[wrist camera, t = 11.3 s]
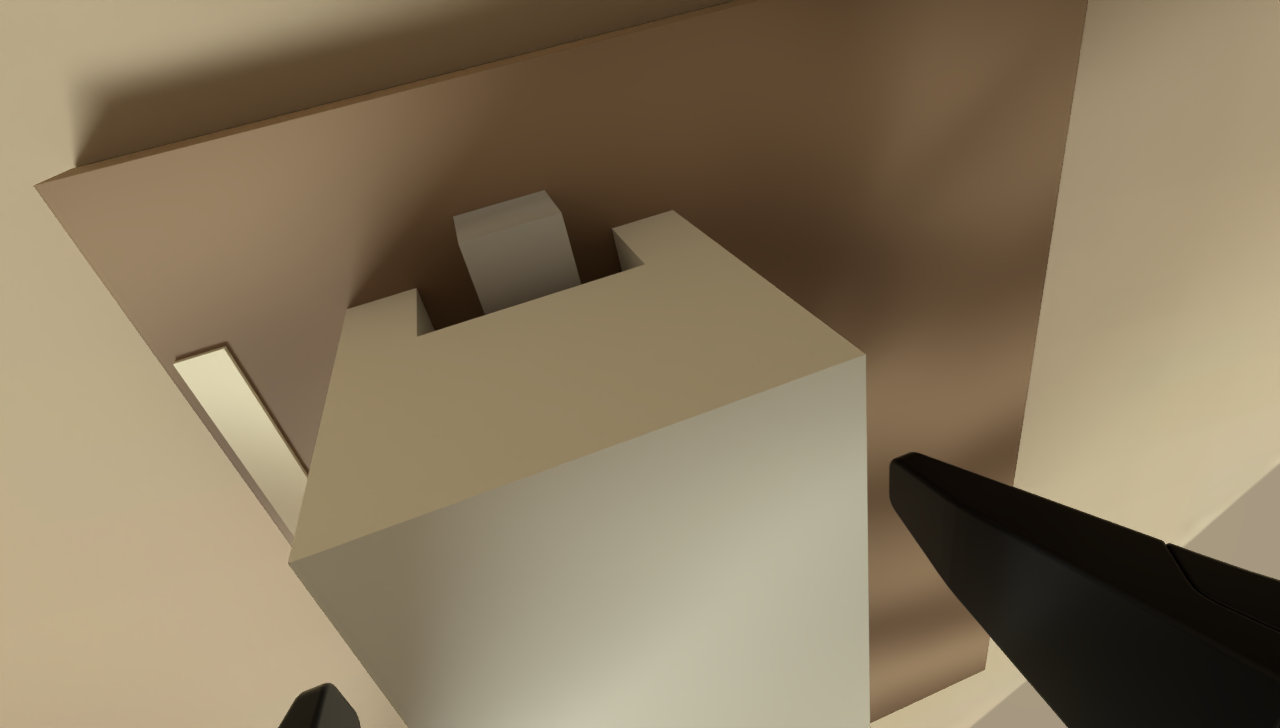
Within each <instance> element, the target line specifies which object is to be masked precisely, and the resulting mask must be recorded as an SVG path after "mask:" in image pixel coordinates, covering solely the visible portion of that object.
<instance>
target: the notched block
mask: <svg viewBox="0 0 1280 728" xmlns="http://www.w3.org/2000/svg"><path fill="white" fill-rule="evenodd" d="M612 231H613V236H614V240H615V244H616V248H617V253H618V257H619V261H620V266H621V270H622V272H620V273H616V274H613V275H610V276H607V277H604V278H601V279H598V280H594V281H591V282H588V283H585V284H582V285H579V286H575V287H572V288H569V289H566V290H563V291H560V292H556V293H553V294H550V295H547V296H544V297H541V298H538V299H534V300H531V301H528V302H525V303H522V304H519V305H515V306H512V307H509V308H506V309H503V310H500V311H497V312H493V313H490V314H487V315H484V316H481V317H478V318H474V319H471V320H468V321H465V322H462V323H459V324H456V325H452V326H449V327H446V328H443V329H440V330H437V331H435V330H434V328H433V326H432V323H431V321H430V319H429V316H428V314H427V311H426V309H425V307H424V304H423V302H422V300H421V297H420V295H419V293H418V290H417V288H415V289H412V290H408V291H405V292H402V293H398V294H395V295H392V296H389V297H385V298H382V299H379V300H375V301H372V302H369V303H366V304H362V305H359V306H356V307H352V308H349V309H347V311H346V315H345V319H344V323H343V328H342V332H341V336H340V341H339V345H338V349H337V354H336V358H335V362H334V367H333V371H332V375H331V380H330V384H329V388H328V393H327V397H326V401H325V406H324V410H323V414H322V419H321V423H320V427H319V432H318V436H317V440H316V444H315V449H314V453H313V457H312V462H311V466H310V470H309V475H308V479H307V483H306V488H305V492H304V496H303V501H302V505H301V509H300V514H299V518H298V522H297V527H296V531H295V535H294V540H293V544H292V548H291V553H290V557H289V561H288V564H289V566H290V567H291V568H292V570H293V571H294V572H295V574H296V575H297V577H298V578H299V579H300V581H301V582H302V583H303V585H304V586H305V587H306V589H307V590H308V591H309V593H310V594H311V596H312V597H313V598H314V600H315V601H316V602H317V604H318V605H319V606H320V608H321V609H322V611H323V612H324V613H325V615H326V616H327V617H328V619H329V620H330V621H331V623H332V624H333V626H334V627H335V628H336V630H337V631H338V632H339V634H340V635H341V636H342V638H343V639H344V641H345V642H346V643H347V645H348V646H349V647H350V649H351V650H352V651H353V653H354V654H355V656H356V657H357V658H358V660H359V661H360V662H361V664H362V665H363V666H364V668H365V669H366V670H367V672H368V673H369V675H370V676H371V677H372V679H373V680H374V681H375V683H376V684H377V685H378V687H379V688H380V690H381V691H382V692H383V694H384V695H385V696H386V698H387V699H388V700H389V702H390V703H391V705H392V706H393V707H394V709H395V710H396V711H397V713H398V714H399V715H400V717H401V718H402V720H403V721H404V722H405V724H406V725H407V726H408V728H870V682H869V593H868V504H867V415H866V354H865V353H863V352H862V351H861V350H859V349H858V348H857V347H855V346H854V345H853V344H851V343H850V342H849V341H847V340H846V339H845V338H843V337H842V336H841V335H839V334H838V333H837V332H835V331H834V330H833V329H831V328H830V327H829V326H827V325H826V324H825V323H823V322H822V321H821V320H819V319H818V318H817V317H815V316H814V315H813V314H811V313H810V312H809V311H807V310H806V309H805V308H803V307H802V306H801V305H799V304H798V303H797V302H795V301H794V300H793V299H791V298H790V297H789V296H787V295H786V294H785V293H783V292H782V291H781V290H779V289H778V288H776V287H775V286H774V285H772V284H771V283H770V282H768V281H767V280H766V279H764V278H763V277H762V276H760V275H759V274H758V273H756V272H755V271H754V270H752V269H751V268H750V267H748V266H747V265H746V264H744V263H743V262H742V261H740V260H739V259H738V258H736V257H735V256H734V255H732V254H731V253H730V252H728V251H727V250H726V249H724V248H723V247H722V246H720V245H719V244H718V243H716V242H715V241H714V240H712V239H711V238H710V237H708V236H707V235H706V234H704V233H703V232H702V231H700V230H699V229H698V228H696V227H695V226H694V225H692V224H691V223H690V222H688V221H687V220H686V219H684V218H683V217H682V216H680V215H679V214H678V213H676V212H675V211H674V210H671V211H668V212H664V213H661V214H658V215H654V216H651V217H648V218H645V219H641V220H638V221H635V222H631V223H628V224H625V225H622V226H618V227H615V228H612Z"/></svg>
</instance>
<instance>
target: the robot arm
mask: <svg viewBox="0 0 1280 728" xmlns="http://www.w3.org/2000/svg"><path fill="white" fill-rule="evenodd" d="M889 498H890V502H891V505H892V507H893V509H894V510H895V512H896V513H897V515H898V516H899V517H900V519H901V520H902V522H903V523H904V525H905V526H906V528H907V529H908V531H909V532H910V533H911V535H912V536H913V538H914V539H915V541H916V542H917V544H918V545H919V546H920V548H921V549H922V551H923V552H924V554H925V555H926V557H927V558H928V559H929V561H930V562H931V564H932V565H933V567H934V568H935V570H936V571H937V572H938V574H939V575H940V577H941V578H942V579H943V581H944V582H945V583H946V585H947V586H948V588H949V589H950V590H951V591H952V592H953V594H954V595H955V596H956V597H957V599H958V600H959V601H960V602H961V603H962V604H963V606H964V607H965V608H966V609H967V610H968V611H969V613H970V614H971V615H972V616H973V617H974V618H975V620H976V621H977V622H978V623H979V624H980V626H981V627H982V628H983V629H984V630H985V631H986V633H987V634H988V635H989V636H990V637H991V638H992V640H993V641H994V642H995V643H996V644H997V645H998V647H999V648H1000V649H1001V650H1002V651H1003V652H1004V654H1005V655H1006V656H1007V657H1008V658H1009V659H1010V661H1011V662H1012V663H1013V664H1014V665H1015V666H1016V668H1017V669H1018V670H1019V671H1020V672H1021V673H1022V675H1023V676H1024V677H1025V678H1026V679H1027V680H1028V682H1029V683H1030V684H1031V685H1032V686H1033V687H1034V688H1035V690H1036V691H1037V692H1038V693H1039V694H1040V696H1041V697H1042V698H1043V699H1044V700H1045V701H1046V703H1047V704H1048V705H1049V706H1050V707H1051V708H1052V710H1053V711H1054V712H1055V713H1056V714H1057V716H1058V717H1059V718H1060V719H1061V720H1062V721H1063V723H1065V725H1066V726H1067V727H1068V728H1280V580H1277V579H1274V578H1271V577H1268V576H1264V575H1261V574H1258V573H1255V572H1251V571H1248V570H1246V569H1243V568H1240V567H1237V566H1234V565H1231V564H1228V563H1225V562H1222V561H1219V560H1216V559H1213V558H1211V557H1208V556H1204V555H1202V554H1199V553H1196V552H1193V551H1191V550H1188V549H1185V548H1182V547H1180V546H1177V545H1174V544H1171V543H1168V544H1165V543H1164V541H1162V540H1160V539H1157V538H1154V537H1151V536H1149V535H1146V534H1143V533H1140V532H1137V531H1135V530H1132V529H1129V528H1126V527H1124V526H1121V525H1118V524H1115V523H1112V522H1110V521H1107V520H1104V519H1101V518H1099V517H1096V516H1093V515H1090V514H1088V513H1085V512H1082V511H1079V510H1076V509H1074V508H1071V507H1068V506H1065V505H1063V504H1060V503H1057V502H1054V501H1051V500H1049V499H1046V498H1043V497H1040V496H1038V495H1035V494H1032V493H1029V492H1027V491H1024V490H1021V489H1018V488H1015V487H1013V486H1010V485H1007V484H1004V483H1002V482H999V481H996V480H993V479H990V478H988V477H985V476H982V475H979V474H977V473H974V472H971V471H968V470H966V469H963V468H960V467H957V466H954V465H952V464H949V463H946V462H943V461H941V460H938V459H935V458H932V457H929V456H927V455H924V454H921V453H918V452H909V453H907V454H904V455H902V456H899V457H897V458H894V459H893V460H892V461H891V462H890V465H889ZM278 728H361V727H360V722H359V719H358V716H357V714H356V712H355V710H354V709H353V708H352V707H351V705H350V704H349V703H348V702H347V700H346V699H345V698H344V697H343V695H342V694H341V693H340V692H339V690H338V689H337V688H336V687H335V686H334V685H333V684H331V683H324V684H322V685H319V686H317V687H314V688H312V689H309V690H306V691H304V692H302V693H301V694H300V695H299V696H298V697H297V698H296V699H295V701H294V702H293V704H292V706H291V707H290V709H289V711H288V712H287V714H286V716H285V717H284V719H283V721H282V722H281V724H280V726H279V727H278Z"/></svg>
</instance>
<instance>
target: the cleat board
mask: <svg viewBox="0 0 1280 728" xmlns="http://www.w3.org/2000/svg"><path fill="white" fill-rule="evenodd" d="M1087 4H1088V0H735V1H731V2H728V3H724V4H720V5H716V6H712V7H708V8H704V9H700V10H696V11H692V12H688V13H684V14H680V15H676V16H672V17H668V18H664V19H660V20H656V21H653V22H649V23H645V24H641V25H637V26H633V27H629V28H625V29H621V30H617V31H613V32H609V33H605V34H601V35H597V36H593V37H589V38H585V39H581V40H578V41H574V42H570V43H566V44H562V45H558V46H554V47H550V48H546V49H542V50H538V51H534V52H530V53H526V54H522V55H518V56H514V57H510V58H506V59H502V60H499V61H495V62H491V63H487V64H483V65H479V66H475V67H471V68H467V69H463V70H459V71H455V72H451V73H447V74H443V75H439V76H435V77H431V78H427V79H424V80H420V81H416V82H412V83H408V84H404V85H400V86H396V87H392V88H388V89H384V90H380V91H376V92H372V93H368V94H364V95H360V96H356V97H352V98H349V99H345V100H341V101H337V102H333V103H329V104H325V105H321V106H317V107H313V108H309V109H305V110H301V111H297V112H293V113H289V114H285V115H281V116H277V117H274V118H270V119H266V120H262V121H258V122H254V123H250V124H246V125H242V126H238V127H234V128H230V129H226V130H222V131H218V132H214V133H210V134H206V135H202V136H199V137H195V138H191V139H187V140H183V141H179V142H175V143H171V144H167V145H163V146H159V147H155V148H151V149H147V150H143V151H139V152H135V153H131V154H127V155H123V156H120V157H116V158H112V159H108V160H104V161H100V162H96V163H92V164H88V165H84V166H80V167H76V168H72V169H70V170H68V171H66V172H63V173H61V174H59V175H57V176H54V177H52V178H50V179H48V180H45V181H43V182H41V183H39V184H36V185H34V187H35V189H36V190H37V191H38V193H39V194H40V196H41V197H42V198H43V200H44V201H45V203H46V204H47V205H48V207H49V208H50V210H51V211H52V212H53V214H54V215H55V217H56V218H57V219H58V221H59V222H60V224H61V225H62V226H63V228H64V229H65V231H66V232H67V233H68V235H69V236H70V238H71V239H72V240H73V242H74V243H75V245H76V246H77V247H78V249H79V250H80V252H81V253H82V254H83V256H84V257H85V259H86V260H87V261H88V263H89V264H90V266H91V267H92V268H93V270H94V271H95V273H96V274H97V275H98V277H99V278H100V280H101V281H102V282H103V284H104V285H105V287H106V288H107V289H108V291H109V292H110V294H111V295H112V296H113V298H114V299H115V300H116V302H117V303H118V305H119V306H120V307H121V309H122V310H123V312H124V313H125V314H126V316H127V317H128V319H129V320H130V321H131V323H132V324H133V326H134V327H135V328H136V330H137V331H138V333H139V334H140V335H141V337H142V338H143V340H144V341H145V342H146V344H147V345H148V347H149V348H150V349H151V351H152V352H153V354H154V355H155V356H156V358H157V359H158V361H159V362H160V363H161V365H162V366H163V368H164V369H165V370H166V372H167V373H168V375H169V376H170V377H171V379H172V380H173V382H174V383H175V384H176V386H177V387H178V389H179V390H180V391H181V393H182V394H183V396H184V397H185V398H186V400H187V401H188V403H189V404H190V405H191V407H192V408H193V410H194V411H195V412H196V414H197V415H198V417H199V418H200V419H201V421H202V422H203V424H204V425H205V426H206V428H207V429H208V431H209V432H210V433H211V435H212V436H213V438H214V439H215V440H216V442H217V443H218V445H219V446H220V447H221V449H222V450H223V451H224V453H225V454H226V456H227V457H228V458H229V460H230V461H231V463H232V464H233V465H234V467H235V468H236V470H237V471H238V472H239V474H240V475H241V477H242V478H243V479H244V481H245V482H246V484H247V485H248V486H249V488H250V489H251V491H252V492H253V493H254V495H255V496H256V498H257V499H258V500H259V502H260V503H261V505H262V506H263V507H264V509H265V510H266V512H267V513H268V514H269V516H270V517H271V519H272V520H273V521H274V523H275V524H276V526H277V527H278V528H279V530H280V531H281V533H282V534H283V535H284V537H285V538H286V540H287V541H288V542H289V544H290V545H291V547H292V544H293V540H294V535H295V531H296V527H297V522H298V518H299V514H300V509H301V505H302V501H303V496H304V492H305V488H306V483H307V479H308V475H309V470H310V466H311V462H312V457H313V453H314V449H315V444H316V440H317V436H318V432H319V427H320V423H321V419H322V414H323V410H324V406H325V401H326V397H327V393H328V388H329V384H330V380H331V375H332V371H333V367H334V362H335V358H336V354H337V349H338V345H339V341H340V336H341V332H342V328H343V323H344V319H345V315H346V311H347V309H349V308H352V307H356V306H359V305H362V304H366V303H369V302H372V301H375V300H379V299H382V298H385V297H389V296H392V295H395V294H398V293H402V292H405V291H408V290H412V289H415V288H417V290H418V293H419V295H420V297H421V300H422V302H423V304H424V307H425V309H426V311H427V314H428V316H429V319H430V321H431V323H432V326H433V328H434V330H435V331H437V330H440V329H443V328H446V327H449V326H452V325H456V324H459V323H462V322H465V321H468V320H471V319H474V318H478V317H481V316H484V315H487V314H490V313H493V312H497V311H500V310H503V309H506V308H509V307H512V306H515V305H519V304H522V303H525V302H528V301H531V300H534V299H538V298H541V297H544V296H547V295H550V294H553V293H556V292H560V291H563V290H566V289H569V288H572V287H575V286H579V285H582V284H585V283H588V282H591V281H594V280H598V279H601V278H604V277H607V276H610V275H613V274H616V273H620V272H622V270H621V266H620V261H619V257H618V253H617V248H616V244H615V240H614V236H613V231H612V228H615V227H618V226H622V225H625V224H628V223H631V222H635V221H638V220H641V219H645V218H648V217H651V216H654V215H658V214H661V213H664V212H668V211H671V210H674V211H675V212H676V213H678V214H679V215H680V216H682V217H683V218H684V219H686V220H687V221H688V222H690V223H691V224H692V225H694V226H695V227H696V228H698V229H699V230H700V231H702V232H703V233H704V234H706V235H707V236H708V237H710V238H711V239H712V240H714V241H715V242H716V243H718V244H719V245H720V246H722V247H723V248H724V249H726V250H727V251H728V252H730V253H731V254H732V255H734V256H735V257H736V258H738V259H739V260H740V261H742V262H743V263H744V264H746V265H747V266H748V267H750V268H751V269H752V270H754V271H755V272H756V273H758V274H759V275H760V276H762V277H763V278H764V279H766V280H767V281H768V282H770V283H771V284H772V285H774V286H775V287H776V288H778V289H779V290H781V291H782V292H783V293H785V294H786V295H787V296H789V297H790V298H791V299H793V300H794V301H795V302H797V303H798V304H799V305H801V306H802V307H803V308H805V309H806V310H807V311H809V312H810V313H811V314H813V315H814V316H815V317H817V318H818V319H819V320H821V321H822V322H823V323H825V324H826V325H827V326H829V327H830V328H831V329H833V330H834V331H835V332H837V333H838V334H839V335H841V336H842V337H843V338H845V339H846V340H847V341H849V342H850V343H851V344H853V345H854V346H855V347H857V348H858V349H859V350H861V351H862V352H863V353H865V354H866V415H867V504H868V593H869V682H870V723H872V722H874V721H876V720H878V719H880V718H882V717H885V716H887V715H889V714H891V713H893V712H895V711H897V710H900V709H902V708H904V707H906V706H908V705H910V704H912V703H915V702H917V701H919V700H921V699H923V698H925V697H927V696H930V695H932V694H934V693H936V692H938V691H940V690H942V689H945V688H947V687H949V686H951V685H953V684H955V683H957V682H960V681H962V680H964V679H966V678H968V677H970V676H972V675H975V674H977V673H979V672H981V671H983V670H985V665H986V659H987V652H988V646H989V639H990V636H989V635H988V634H987V633H986V631H985V630H984V629H983V628H982V627H981V626H980V624H979V623H978V622H977V621H976V620H975V618H974V617H973V616H972V615H971V614H970V613H969V611H968V610H967V609H966V608H965V607H964V606H963V604H962V603H961V602H960V601H959V600H958V599H957V597H956V596H955V595H954V594H953V592H952V591H951V590H950V589H949V588H948V586H947V585H946V583H945V582H944V581H943V579H942V578H941V577H940V575H939V574H938V572H937V571H936V570H935V568H934V567H933V565H932V564H931V562H930V561H929V559H928V558H927V557H926V555H925V554H924V552H923V551H922V549H921V548H920V546H919V545H918V544H917V542H916V541H915V539H914V538H913V536H912V535H911V533H910V532H909V531H908V529H907V528H906V526H905V525H904V523H903V522H902V520H901V519H900V517H899V516H898V515H897V513H896V512H895V510H894V509H893V507H892V505H891V502H890V498H889V465H890V462H891V461H892V460H893V459H894V458H897V457H899V456H902V455H904V454H907V453H909V452H918V453H921V454H924V455H927V456H929V457H932V458H935V459H938V460H941V461H943V462H946V463H949V464H952V465H954V466H957V467H960V468H963V469H966V470H968V471H971V472H974V473H977V474H979V475H982V476H985V477H988V478H990V479H993V480H996V481H999V482H1002V483H1004V484H1007V485H1010V486H1013V484H1014V477H1015V471H1016V464H1017V458H1018V451H1019V445H1020V438H1021V432H1022V425H1023V419H1024V412H1025V406H1026V399H1027V393H1028V386H1029V380H1030V373H1031V367H1032V360H1033V354H1034V348H1035V341H1036V335H1037V328H1038V322H1039V315H1040V309H1041V302H1042V296H1043V289H1044V283H1045V276H1046V270H1047V263H1048V257H1049V250H1050V244H1051V237H1052V231H1053V224H1054V218H1055V211H1056V205H1057V198H1058V192H1059V185H1060V179H1061V172H1062V166H1063V159H1064V153H1065V146H1066V140H1067V134H1068V127H1069V121H1070V114H1071V108H1072V101H1073V95H1074V88H1075V82H1076V75H1077V69H1078V62H1079V56H1080V49H1081V43H1082V36H1083V30H1084V23H1085V17H1086V10H1087Z"/></svg>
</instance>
